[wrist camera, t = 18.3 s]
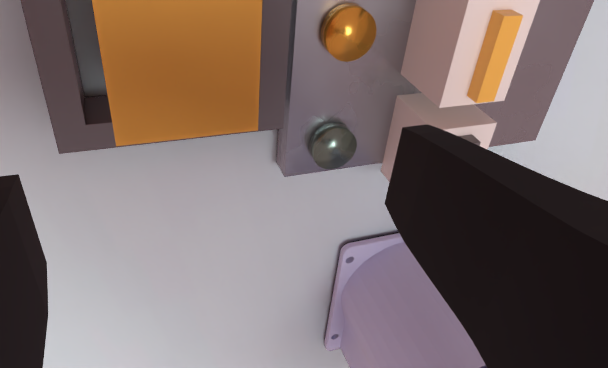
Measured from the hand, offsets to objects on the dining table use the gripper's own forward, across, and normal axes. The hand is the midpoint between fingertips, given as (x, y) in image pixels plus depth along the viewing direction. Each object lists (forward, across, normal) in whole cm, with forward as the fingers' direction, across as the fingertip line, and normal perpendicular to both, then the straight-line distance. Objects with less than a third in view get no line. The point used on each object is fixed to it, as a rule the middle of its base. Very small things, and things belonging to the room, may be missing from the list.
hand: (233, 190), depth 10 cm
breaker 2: (+9, -11, +6) cm, 15 cm away
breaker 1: (+9, -11, 0) cm, 14 cm away
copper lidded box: (+10, 0, 0) cm, 10 cm away
